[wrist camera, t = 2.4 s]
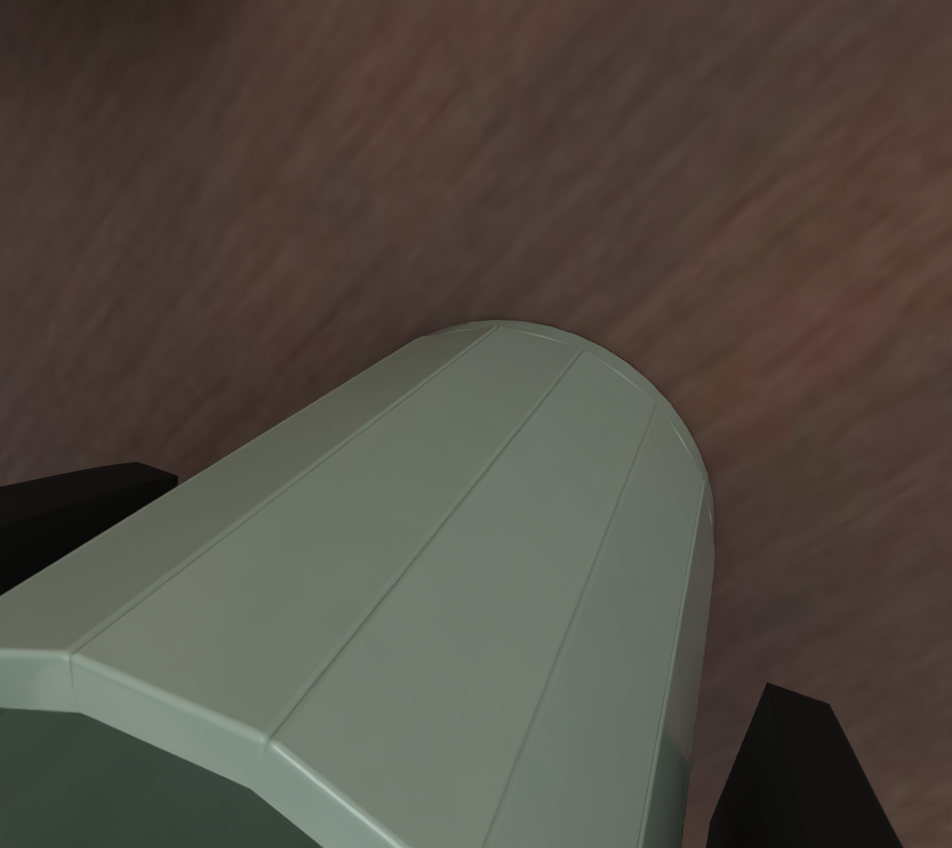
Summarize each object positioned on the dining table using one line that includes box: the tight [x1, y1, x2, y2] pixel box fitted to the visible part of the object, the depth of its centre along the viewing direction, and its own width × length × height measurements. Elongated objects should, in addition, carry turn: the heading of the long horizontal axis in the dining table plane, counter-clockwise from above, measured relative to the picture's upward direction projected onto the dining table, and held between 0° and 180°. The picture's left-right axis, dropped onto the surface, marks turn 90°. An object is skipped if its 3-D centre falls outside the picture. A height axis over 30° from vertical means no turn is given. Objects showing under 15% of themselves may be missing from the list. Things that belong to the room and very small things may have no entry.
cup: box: [0, 320, 716, 848], centre depth 9 cm, size 6×6×8 cm
